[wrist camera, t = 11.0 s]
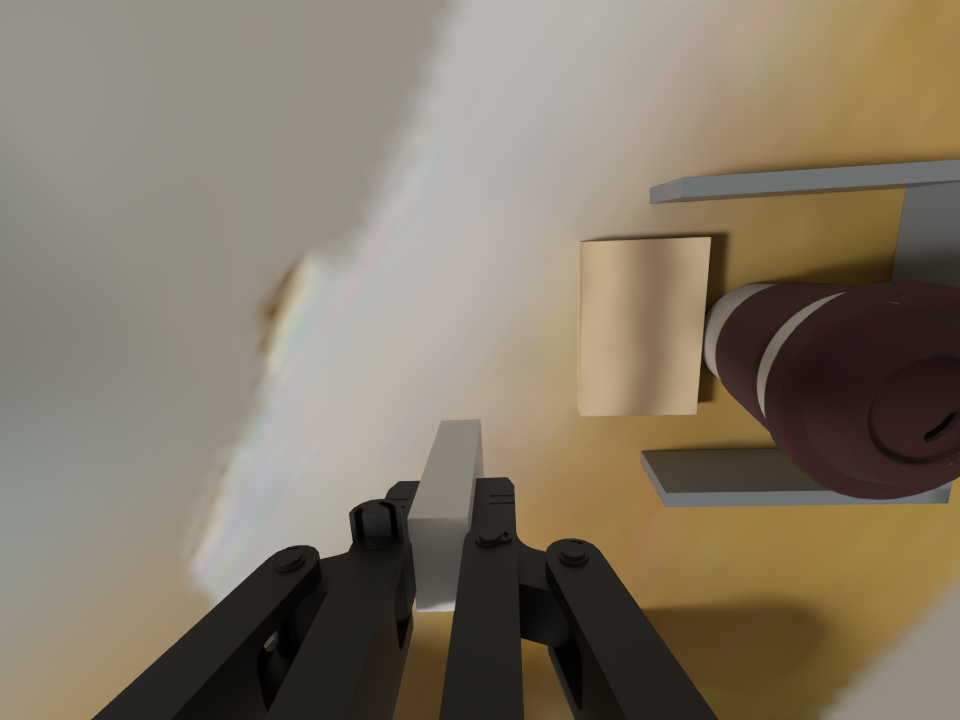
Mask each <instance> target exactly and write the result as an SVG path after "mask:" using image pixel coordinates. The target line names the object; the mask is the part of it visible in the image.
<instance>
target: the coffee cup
mask: <svg viewBox="0 0 960 720" xmlns="http://www.w3.org/2000/svg"><path fill="white" fill-rule="evenodd" d="M701 355H702V358H703V360H704V362H705V364H706V366H707V367H708V368H709V370H710V371H711V372H712V373H713V374H714V375H715V376H716V377H717V378H719V379H720V380H721V382H722V384H723V385H724V387H725V388H726V390H727V391H728V392H729V393H730V394H731V395H732V396H733V397H734V398H735V399H736V400H737V401H738V402H739V403H740V404H741V405H742V406H743V407H744V408H745V409H746V410H747V411H748V412H749V413H750V414H752V415H753V416H754V417H755V418H756V419H757V420H758V421H759V422H760V423H761V424H762V425H763V426H764V427H765V428H766V429H767V430H768V431H769V432H770V434H771V436H772V438H773V440H774V442H775V443H776V445H777V447H778V448H779V450H780V451H781V452H782V453H783V455H784V456H785V457H786V458H787V459H788V460H789V461H790V462H791V463H792V464H793V465H795V466H796V467H797V468H798V469H799V470H801V471H802V472H803V473H804V474H806V475H807V476H808V477H809V478H810V479H812V480H813V481H814V482H816V483H818V484H819V485H821V486H823V487H825V488H827V489H829V490H831V491H833V492H836V493H839V494H842V495H846V496H850V497H854V498H859V499H873V500H889V499H898V498H903V497H908V496H913V495H918V494H921V493H924V492H927V491H930V490H933V489H936V488H938V487H940V486H942V485H944V484H947V483H949V482H951V481H953V480H955V479H957V478H958V477H960V288H959V287H955V286H952V285H946V284H939V283H931V282H923V281H911V280H894V281H884V282H878V283H873V284H869V285H865V286H859V285H841V284H823V283H805V282H790V283H782V284H766V283H760V284H750V285H746V286H742V287H740V288H737V289H734V290H732V291H731V292H729V293H727V294H726V295H724V296H723V297H721V298H720V299H719V300H718V301H717V302H716V303H715V304H714V305H713V306H712V307H711V309H710V310H709V311H708V313H707V315H706V316H705V318H704V328H703V340H702V352H701Z"/></svg>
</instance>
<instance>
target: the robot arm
mask: <svg viewBox="0 0 960 720" xmlns="http://www.w3.org/2000/svg"><path fill="white" fill-rule="evenodd" d="M349 518H350V525H351V532H352V540H353V543H352V545H351V547H350V549H349V551H348V552H346V553H343V554H340V555H337V556H332V557H328V558H324V559H320V556H319V552H318V551H317V550H316V548H314V547H311V546H308V545H297V546H293V547H292V546H291V547H288V548H286V549H283V550H281V551H279V552H277V553H275V554H274V555H272V556H271V557H269V558H268V559H267V560H266V561H265V562H264V563H263V564H262V565H260V566H259V567H258V568H257V569H256V570H255V571H254V572H253V573H252V574H251V575H249V576H248V577H247V578H246V579H245V580H244V581H243V582H242V583H241V584H240V585H238V586H237V587H236V588H235V589H234V590H233V591H232V592H231V593H230V594H229V595H228V596H226V597H225V598H224V599H223V600H222V601H221V602H220V603H219V604H218V605H217V606H215V607H214V608H213V609H212V610H211V611H210V612H209V613H208V614H207V615H206V616H204V617H203V618H202V619H201V620H200V621H199V622H198V623H197V624H196V625H195V626H193V627H192V628H191V629H190V630H189V631H188V632H187V633H186V634H185V635H184V636H183V637H181V638H180V639H179V640H178V641H177V642H176V643H175V644H174V645H173V646H172V647H170V648H169V649H168V650H167V651H166V652H165V653H164V654H163V655H162V656H161V657H159V658H158V660H156V661H155V662H154V663H153V664H152V665H151V666H150V667H148V669H146V670H145V671H144V672H143V673H142V674H141V675H140V676H139V677H138V678H137V679H135V680H134V681H133V682H132V683H131V684H130V685H129V686H128V687H127V688H125V689H124V690H123V691H122V692H121V693H120V694H119V695H118V696H117V697H116V698H115V699H113V701H111V702H110V703H109V704H108V705H107V706H106V707H105V708H103V709H102V710H101V711H100V712H99V713H98V714H97V715H96V716H95V717H94V718H93V719H91V720H392V717H393V713H394V709H395V704H396V700H397V696H398V691H399V687H400V683H401V678H402V674H403V670H404V665H405V661H406V657H407V652H408V648H409V644H410V639H411V635H412V631H413V615H412V607H413V603H414V599H415V598H416V607H417V612H430V611H454V616H453V623H452V631H451V638H450V645H449V652H448V660H447V667H446V674H445V682H444V689H443V696H442V703H441V711H440V718H439V720H524V708H523V683H522V658H521V638H523V639H527V640H530V641H534V642H537V643H541V644H544V645H547V646H548V652H549V656H550V658H551V661H552V663H553V666H554V668H555V671H556V673H557V676H558V678H559V681H560V683H561V686H562V688H563V691H564V693H565V696H566V698H567V701H568V704H569V706H570V709H571V711H572V714H573V716H574V719H575V720H718V718H717V717H716V715H715V714H714V713H713V711H712V710H711V708H710V707H709V706H708V704H707V703H706V701H705V700H704V698H703V697H702V696H701V694H700V693H699V691H698V690H697V688H696V687H695V686H694V684H693V683H692V681H691V680H690V678H689V677H688V676H687V674H686V673H685V671H684V670H683V668H682V667H681V666H680V664H679V663H678V661H677V660H676V659H675V657H674V656H673V654H672V653H671V651H670V650H669V649H668V647H667V646H666V644H665V643H664V641H663V640H662V639H661V637H660V636H659V634H658V633H657V631H656V630H655V629H654V627H653V626H652V624H651V623H650V621H649V620H648V619H647V617H646V616H645V614H644V613H643V612H642V610H641V609H640V607H639V606H638V604H637V603H636V602H635V600H634V599H633V597H632V596H631V594H630V593H629V592H628V590H627V589H626V587H625V586H624V584H623V583H622V582H621V580H620V579H619V577H618V576H617V574H616V573H615V572H614V570H613V569H612V567H611V566H610V565H609V563H608V562H607V560H606V559H605V557H604V556H603V555H602V553H601V552H600V550H598V549H597V548H596V547H595V546H594V545H593V544H591V543H589V542H586V541H584V540H579V539H574V538H573V539H562V540H558V541H555V542H553V543H552V544H551V545H550V546H548V548H547V550H546V552H545V551H540V550H537V549H533V548H531V547H529V546H527V545H525V544H524V543H523V542H521V541H520V539H519V538H518V537H517V533H516V516H515V493H514V484H513V483H512V482H511V481H510V480H509V479H508V478H507V477H500V478H484V471H483V454H482V437H481V420H480V419H476V420H447V421H441V423H440V426H439V429H438V432H437V435H436V438H435V440H434V443H433V446H432V449H431V452H430V455H429V458H428V460H427V463H426V466H425V469H424V472H423V475H422V478H421V480H420V481H399V482H398V483H396V484H395V485H394V486H393V487H391V488H390V489H389V490H388V492H387V495H386V497H385V499H376V500H370V501H367V502H364V503H361V504H360V505H358V506H356V507H355V508H353V509H352V511H351V512H350V513H349ZM272 634H274V640H273V642H272V643H271V644H270V645H269V646H268V647H267V648H264V644H265V643H266V641H267V640H268V639H269V638H270V637H271V635H272Z"/></svg>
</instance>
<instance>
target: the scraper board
mask: <svg viewBox="0 0 960 720" xmlns="http://www.w3.org/2000/svg"><path fill="white" fill-rule="evenodd" d="M710 245H711V237H684V238H659V239H634V240H609V241H584V242H579V255H578V328H577V402H576V406H577V409H578V411H579V414H580V416H629V415H696V412H697V400H698V388H699V376H700V364H701V352H702V340H703V328H704V316H705V305H706V293H707V281H708V269H709V257H710Z"/></svg>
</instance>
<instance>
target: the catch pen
mask: <svg viewBox="0 0 960 720" xmlns="http://www.w3.org/2000/svg"><path fill="white" fill-rule="evenodd" d="M898 188H906V193H905V199H904V205H903V211H902V217H901V223H900V229H899V235H898V241H897V247H896V253H895V259H894V265H893V271H892V277H891V281H894V280H911V281H923V282H931V283H939V284H946V285H952V286H955V287H959V288H960V159H959V160H944V161H929V162H914V163H898V164H883V165H868V166H853V167H838V168H823V169H808V170H793V171H778V172H763V173H748V174H733V175H717V176H702V177H687V178H680V179H677V180H674V181H671V182H668V183H665V184H661V185H658V186H655V187H652V188H650V204H658V203H674V202H690V201H706V200H722V199H738V198H754V197H770V196H786V195H802V194H818V193H834V192H850V191H866V190H882V189H898ZM641 464H642V466H643V468H644V470H645V471H646V473H647V475H648V477H649V479H650V480H651V482H652V484H653V486H654V487H655V489H656V491H657V493H658V495H659V496H660V498H661V500H662V502H663V504H664V505H665V507H698V506H776V505H853V504H930V503H948V500H949V495H950V491H951V486H952V482H953V481H951V482H949V483H947V484H944V485H942V486H940V487H938V488H936V489H933V490H930V491H927V492H924V493H921V494H918V495H913V496H908V497H903V498H898V499H889V500H873V499H859V498H854V497H850V496H846V495H842V494H839V493H836V492H833V491H831V490H829V489H827V488H825V487H823V486H821V485H819V484H818V483H816V482H814V481H813V480H812V479H810V478H809V477H808V476H807V475H806V474H804V473H803V472H802V471H801V470H799V469H798V468H797V467H796V466H795V465H793V464H792V463H791V462H790V461H789V460H788V459H787V458H786V457H785V456H784V455H783V453H782V452H781V451H780V450H779V448H767V449H721V450H676V451H641Z"/></svg>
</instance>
